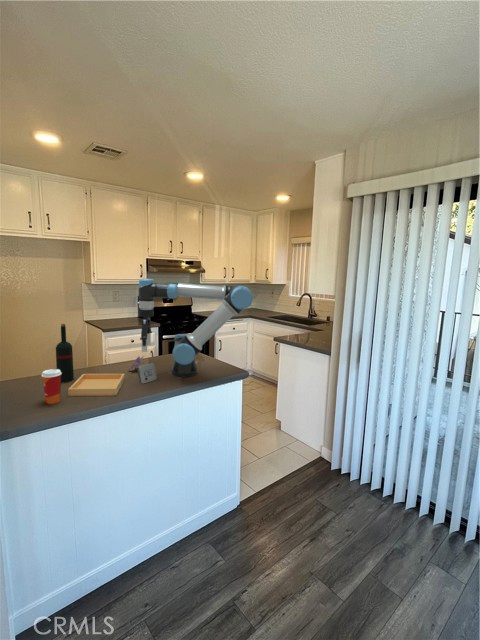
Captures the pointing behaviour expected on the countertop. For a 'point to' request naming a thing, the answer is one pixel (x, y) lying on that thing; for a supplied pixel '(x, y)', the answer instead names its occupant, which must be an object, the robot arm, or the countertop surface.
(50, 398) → the paper cup
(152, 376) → the electrical switch
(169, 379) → the countertop surface
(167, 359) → the countertop surface
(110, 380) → the wooden tray
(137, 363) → the lily
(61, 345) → the wine bottle
